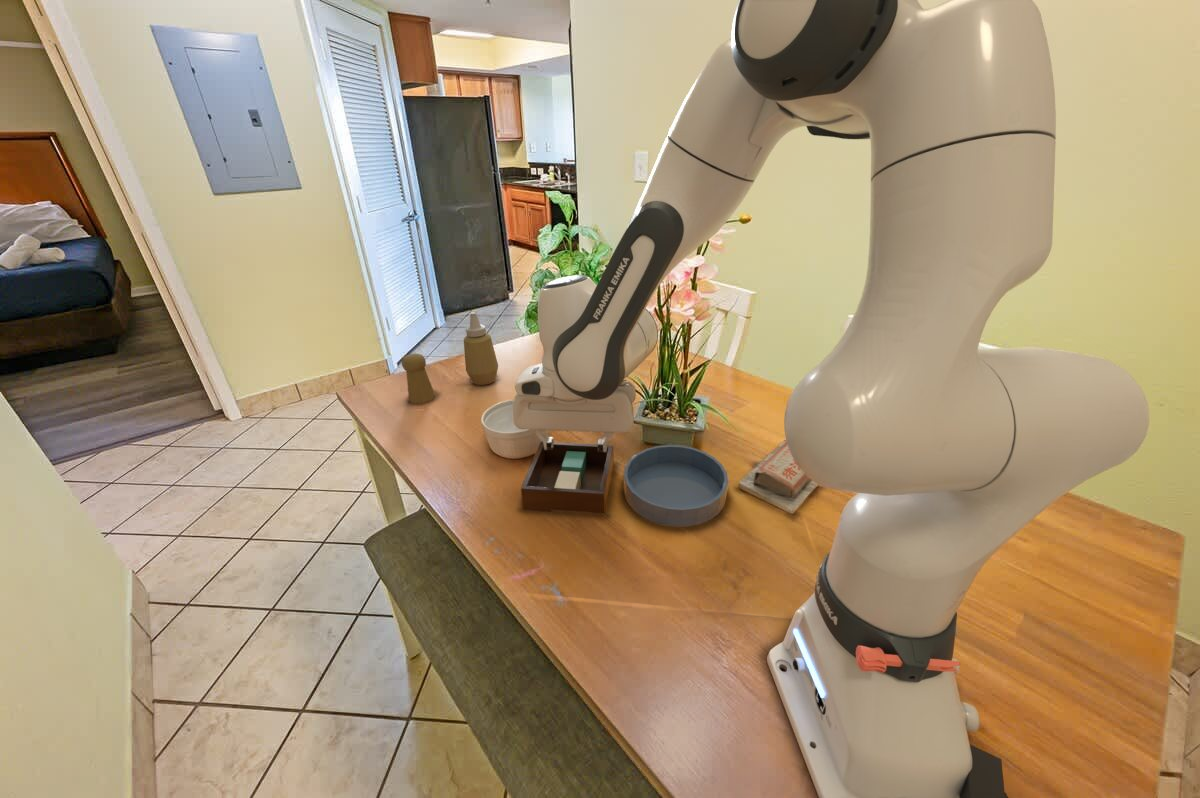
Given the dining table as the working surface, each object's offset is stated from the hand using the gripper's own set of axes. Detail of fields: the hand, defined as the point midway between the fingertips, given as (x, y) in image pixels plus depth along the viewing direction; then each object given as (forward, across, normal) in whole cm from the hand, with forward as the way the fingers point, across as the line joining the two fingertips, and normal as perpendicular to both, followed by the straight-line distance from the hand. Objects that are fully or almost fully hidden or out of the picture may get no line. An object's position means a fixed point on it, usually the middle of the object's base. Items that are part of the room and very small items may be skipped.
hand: (575, 449), depth 83 cm
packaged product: (+7, -37, -3) cm, 38 cm away
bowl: (+6, -17, +3) cm, 19 cm away
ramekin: (+6, +14, -10) cm, 18 cm away
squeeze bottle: (+6, +30, -37) cm, 48 cm away
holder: (+6, +1, +2) cm, 7 cm away
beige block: (+6, +1, +5) cm, 8 cm away
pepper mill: (+6, +42, -28) cm, 51 cm away
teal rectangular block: (+6, +1, -1) cm, 6 cm away
